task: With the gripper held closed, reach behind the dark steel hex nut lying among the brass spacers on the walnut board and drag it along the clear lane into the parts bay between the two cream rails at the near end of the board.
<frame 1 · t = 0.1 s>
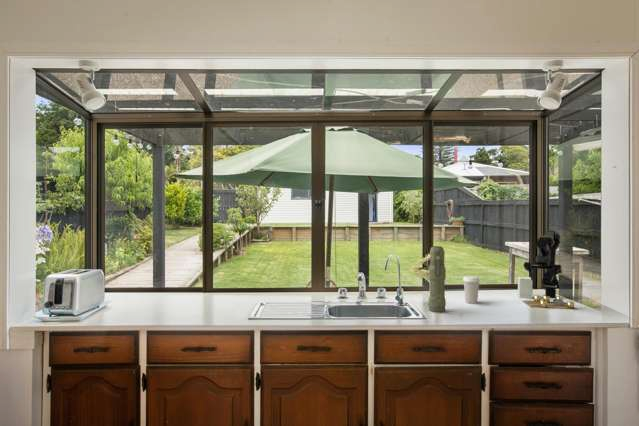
hand: (540, 281, 226), 15 cm above the counter, tool tilted 30°, fingers open, 9 cm apart
walnut board: (548, 305, 230), on the counter
green bumpy column: (437, 310, 220), on the counter
steel nut: (558, 305, 229), point 1 cm above the counter, touching walnut board
brass spacers: (548, 305, 230), resting on walnut board
coffee cup: (471, 302, 239), on the counter
supplement box: (524, 298, 250), on the counter
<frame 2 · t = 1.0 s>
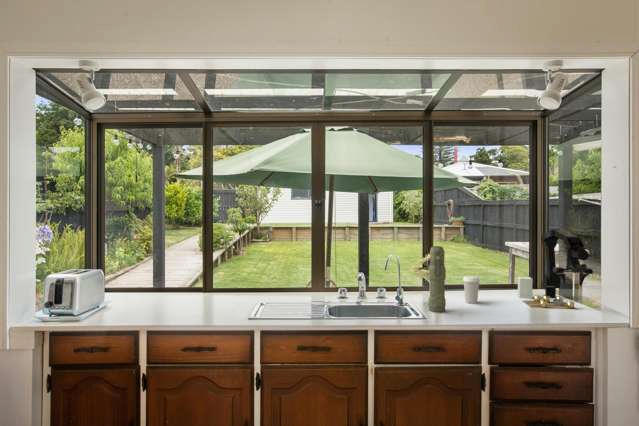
hand: (572, 285, 227), 12 cm above the counter, tool pointing down, fingers open, 8 cm apart
nothing on the counter moved.
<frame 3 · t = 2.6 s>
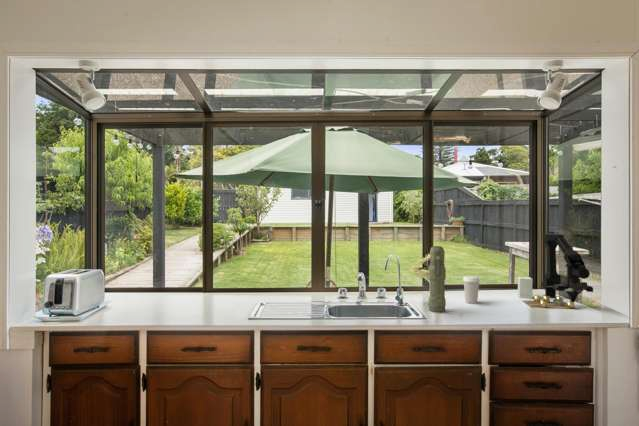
hand: (572, 303, 228), 2 cm above the counter, tool pointing down, fingers closed
nothing on the counter moved.
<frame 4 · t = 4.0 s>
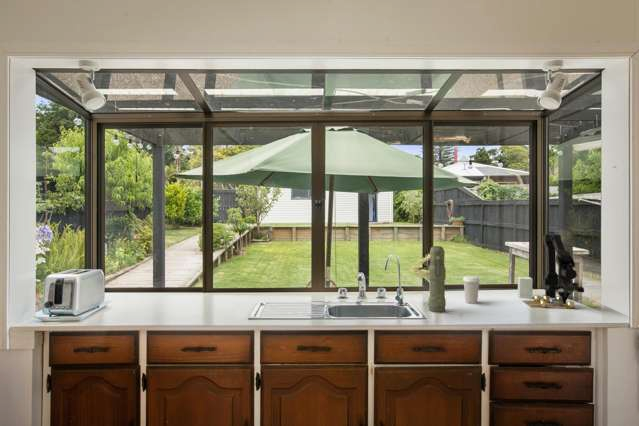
hand: (564, 303, 228), 2 cm above the counter, tool pointing down, fingers closed
steel nut: (557, 305, 229), point 1 cm above the counter, touching gripper
everything else where it was.
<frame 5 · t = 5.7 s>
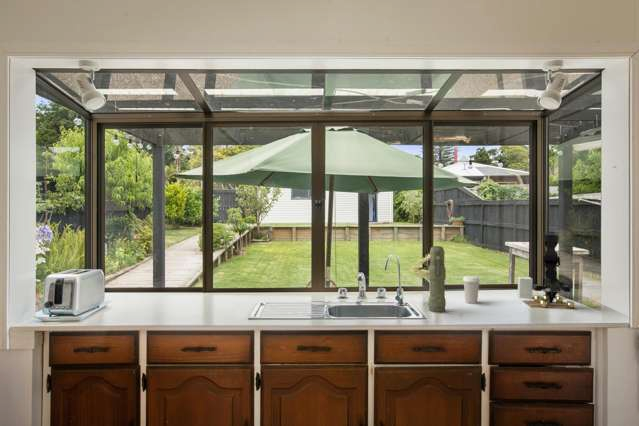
hand: (550, 303, 230), 2 cm above the counter, tool pointing down, fingers closed
steel nut: (544, 304, 230), point 1 cm above the counter, touching gripper, walnut board
everything else where it was.
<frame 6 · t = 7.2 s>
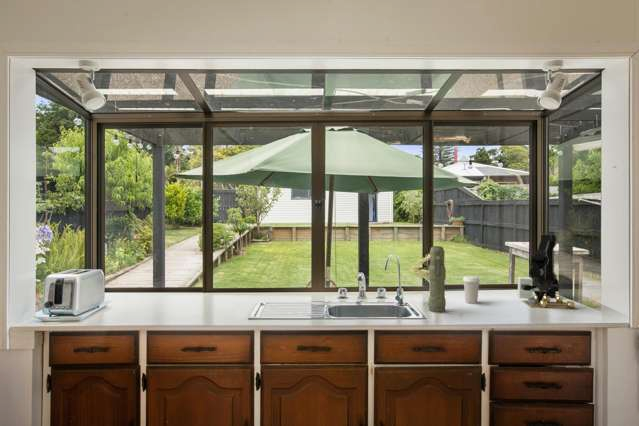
hand: (539, 302, 231), 2 cm above the counter, tool pointing down, fingers closed
steel nut: (533, 304, 231), point 1 cm above the counter, touching gripper, walnut board
everything else where it was.
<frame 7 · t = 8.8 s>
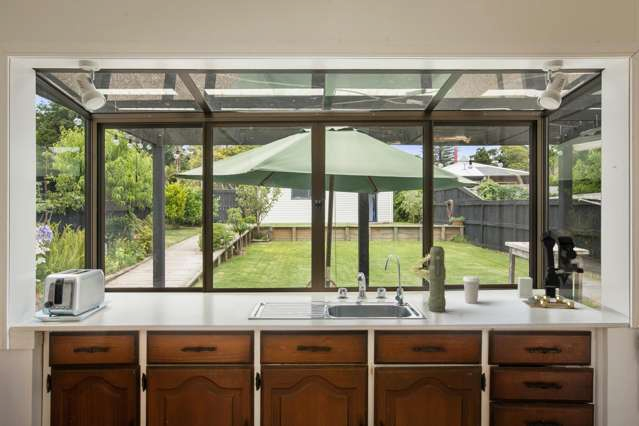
hand: (563, 284, 231), 12 cm above the counter, tool pointing down, fingers closed
steel nut: (533, 304, 231), point 1 cm above the counter, touching walnut board
everything else where it was.
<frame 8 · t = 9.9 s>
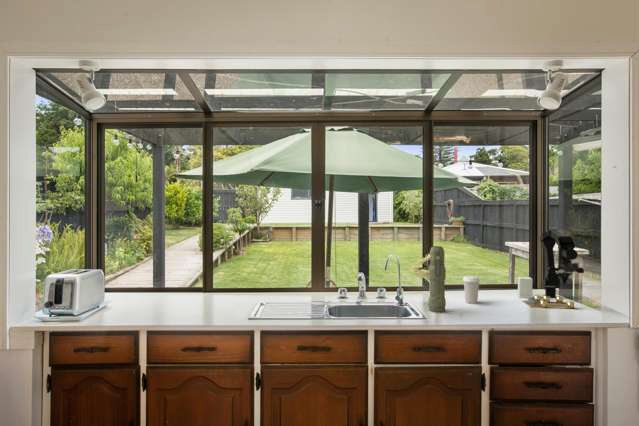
hand: (563, 284, 231), 12 cm above the counter, tool pointing down, fingers closed
nothing on the counter moved.
at the end: steel nut inside the target area on the walnut board (0.3 cm from its centre), point 0.6 cm above the walnut board's base; steel nut tilted 0° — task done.
